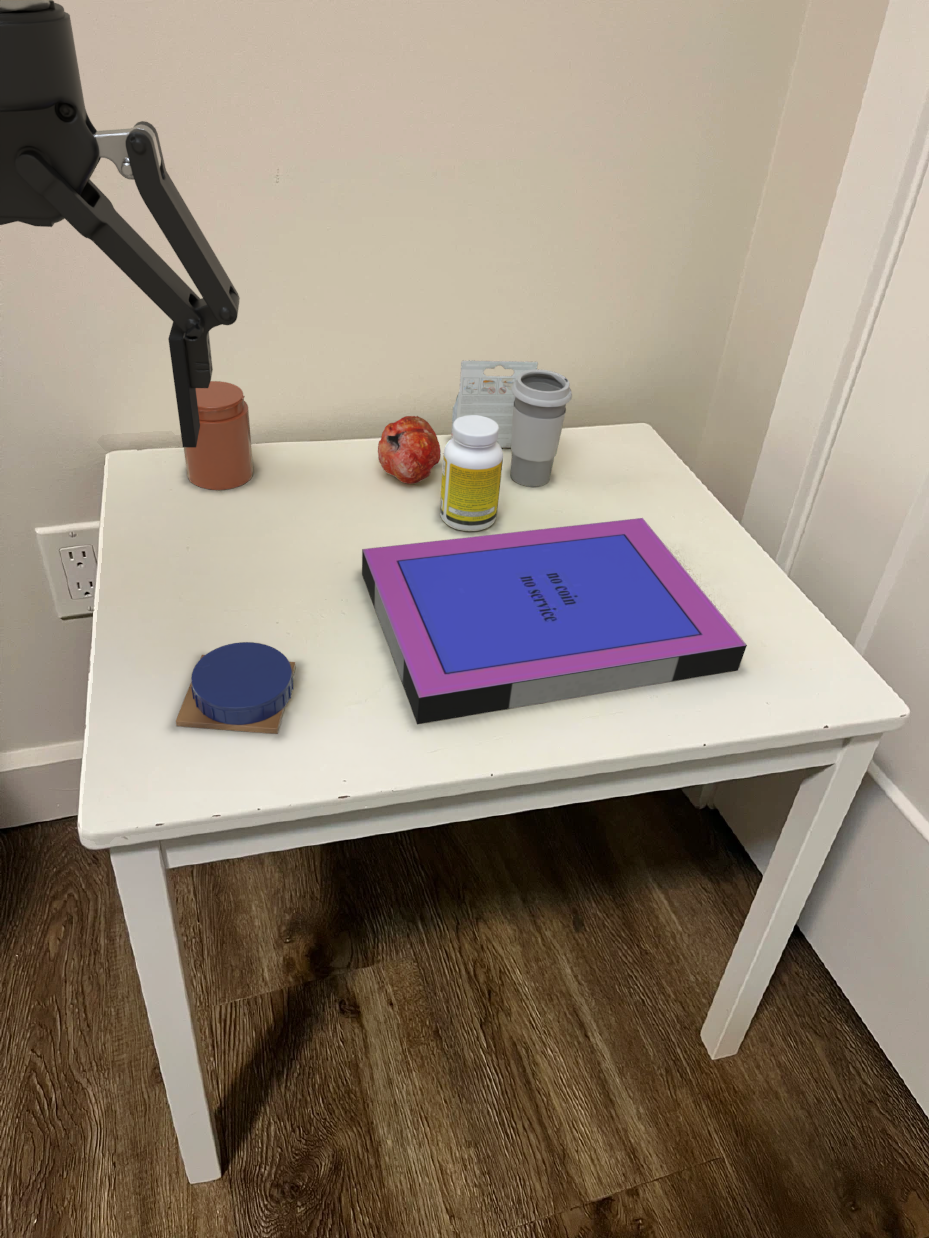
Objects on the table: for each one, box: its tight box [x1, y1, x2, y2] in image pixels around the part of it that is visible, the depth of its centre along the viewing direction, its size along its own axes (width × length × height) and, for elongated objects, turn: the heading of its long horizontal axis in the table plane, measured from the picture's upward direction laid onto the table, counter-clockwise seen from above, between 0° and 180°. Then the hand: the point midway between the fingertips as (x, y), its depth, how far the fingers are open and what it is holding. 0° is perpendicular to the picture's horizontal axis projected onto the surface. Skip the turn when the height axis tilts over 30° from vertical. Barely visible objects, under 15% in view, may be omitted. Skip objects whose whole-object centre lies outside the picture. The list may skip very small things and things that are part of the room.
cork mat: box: [175, 654, 297, 735], centre depth 75 cm, size 8×8×1 cm
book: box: [361, 517, 748, 725], centre depth 85 cm, size 21×3×30 cm
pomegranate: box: [377, 415, 442, 485], centre depth 103 cm, size 7×7×10 cm
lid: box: [190, 641, 294, 725], centre depth 74 cm, size 8×8×2 cm
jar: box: [183, 380, 254, 491], centre depth 99 cm, size 7×7×10 cm
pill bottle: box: [439, 415, 504, 532], centre depth 95 cm, size 6×6×11 cm
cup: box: [509, 368, 573, 488], centre depth 103 cm, size 7×7×12 cm
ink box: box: [450, 359, 539, 449], centre depth 109 cm, size 3×9×12 cm, turn 98°
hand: (70, 437), depth 53 cm, fingers open, 13 cm apart
